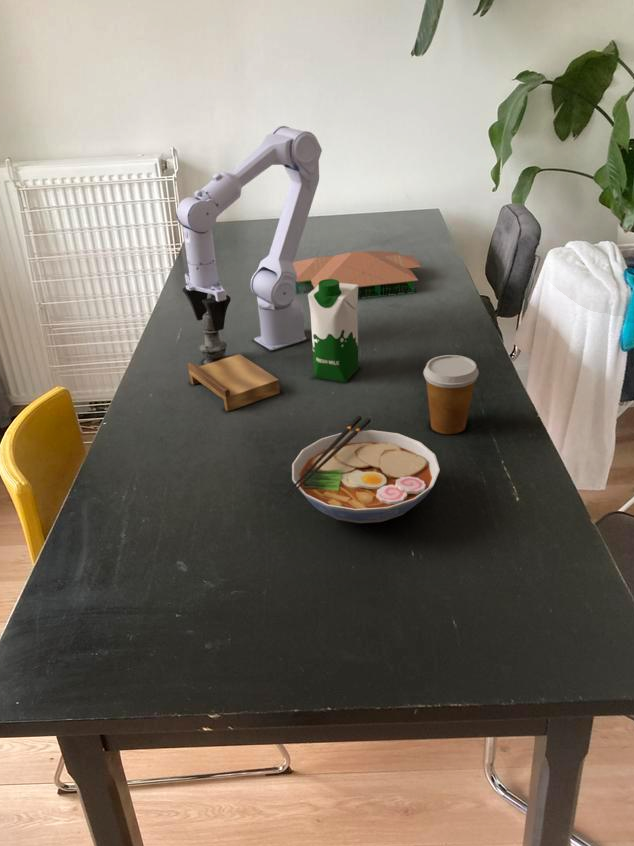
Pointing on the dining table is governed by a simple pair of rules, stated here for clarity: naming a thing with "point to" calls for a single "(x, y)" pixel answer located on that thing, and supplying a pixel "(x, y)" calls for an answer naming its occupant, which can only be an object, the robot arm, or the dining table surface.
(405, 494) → the ramen bowl
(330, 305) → the milk carton
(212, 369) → the shelf stand
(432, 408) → the disposable coffee cup
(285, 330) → the robot arm
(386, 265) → the house
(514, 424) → the dining table surface
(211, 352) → the grey stone finial
